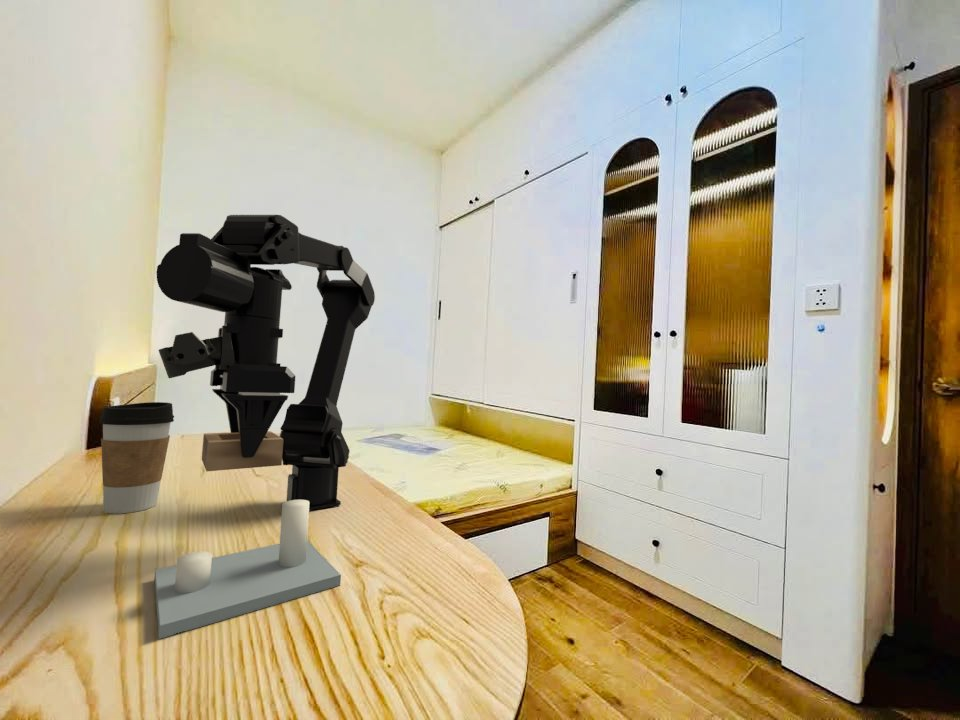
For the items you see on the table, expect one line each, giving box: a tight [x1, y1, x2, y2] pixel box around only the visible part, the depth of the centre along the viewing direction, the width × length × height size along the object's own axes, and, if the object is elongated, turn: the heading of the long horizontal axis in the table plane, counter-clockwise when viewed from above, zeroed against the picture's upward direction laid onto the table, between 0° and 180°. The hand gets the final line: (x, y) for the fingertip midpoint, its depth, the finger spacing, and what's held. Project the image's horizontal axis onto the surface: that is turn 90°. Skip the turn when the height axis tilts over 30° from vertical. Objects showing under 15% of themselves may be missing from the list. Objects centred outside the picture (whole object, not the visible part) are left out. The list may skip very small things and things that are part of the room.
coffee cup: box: [99, 401, 175, 515], centre depth 59 cm, size 8×8×15 cm
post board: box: [154, 500, 342, 640], centre depth 40 cm, size 14×11×7 cm
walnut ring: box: [201, 430, 283, 472], centre depth 47 cm, size 7×7×3 cm
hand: (242, 451), depth 47 cm, fingers closed on walnut ring, 7 cm apart
